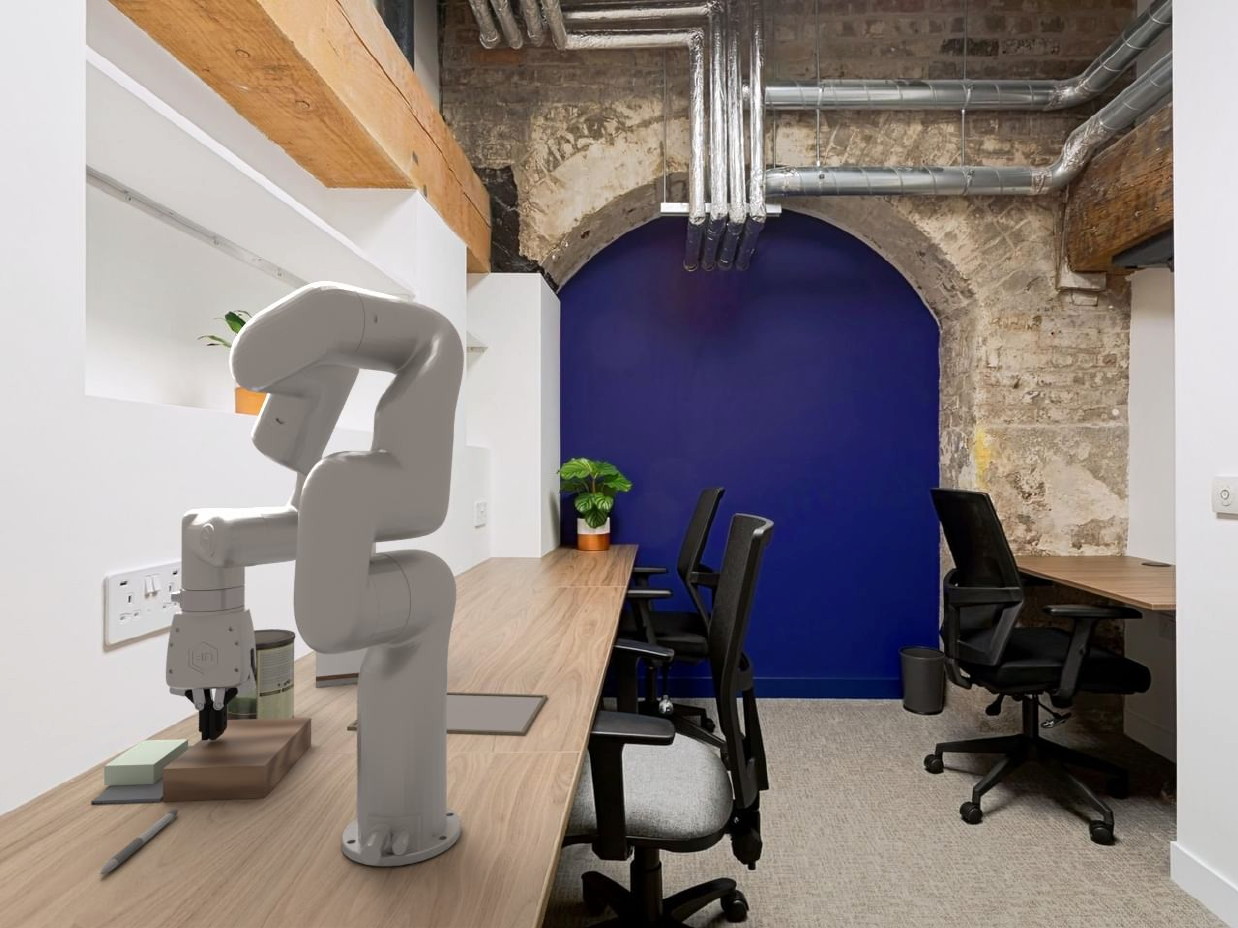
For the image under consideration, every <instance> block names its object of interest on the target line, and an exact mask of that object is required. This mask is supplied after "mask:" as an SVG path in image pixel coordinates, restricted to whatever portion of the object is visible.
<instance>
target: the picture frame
mask: <svg viewBox="0 0 1238 928" xmlns="http://www.w3.org/2000/svg"><path fill="white" fill-rule="evenodd" d="M547 699H548V694H538V693H537V694H533V693H531V694H530V693H501V692H500V693H495V692H463V691H462V692H460V691H447V735H448V734H449V735H450V734H452V735H479V736H480V735H483V736H509V737H511V736H512V737H513V736H516V737H518V736H519V737H520V736H521V737H525V735H526V734H527V732H528V730H529V729H530V727H531V725H532V724H533V722H534V721H535V719H536V717H537V716H538V714H539V712H540V711H541V710H542V707H543V706H544V704H545V703H546V701H547ZM346 731H355V732H357V719H355V720H354V721H353V722H351V723H350V724H349V725H347V726H346Z"/></svg>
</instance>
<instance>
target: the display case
mask: <svg viewBox="0 0 1238 928" xmlns="http://www.w3.org/2000/svg"><path fill="white" fill-rule="evenodd" d="M372 553H377V543H373V545H372V550H371V554H372ZM367 649H368V648H364V649H360V650H355V651H351V652H347V653H342V654H323V653H319V652H316V651H315V688H316V687H318V688H324V687H323V686H328V687H335V686H334V685H338V686H344V685H343V684H348V685H354V684H353V683H358V676H359V672H360V668H361V664H362V661H363V658H364V656H365V653H366V651H367Z"/></svg>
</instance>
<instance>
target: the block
mask: <svg viewBox="0 0 1238 928" xmlns="http://www.w3.org/2000/svg"><path fill="white" fill-rule="evenodd" d="M188 746H189V739H186V738H185V739H149V740H148V739H146V740H145V739H144V740H142V741H140V742H138V743H137V744H135V745H133V747H131V748H129V749H128V750H126V751H125V752H123V753H122V754H119V756H117V757H116V758H114V759H113V760H111V761H109V762H108V763H107V764H105V765H104V767H103V768H104V772H103V773H104V774H103V775H104V778H103V779H104V780H103V785H104V786H113V785H135V784H154V783H155V782H157V781H158V780H159V779H161V778H162V777H163V768H165V767H166V766H167V765H169V764H170V763H171V762H173V761H174V760H175V759H176V758H178V757H179V756H180V755H182V754H183V753H184V752H186V751H187V750H188Z"/></svg>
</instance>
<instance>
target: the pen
mask: <svg viewBox="0 0 1238 928" xmlns="http://www.w3.org/2000/svg"><path fill="white" fill-rule="evenodd" d="M178 812H179V809H177V808H176V809H175V808H174V809H171V810H169V811H168V812H167V813H165V815H163V816H162V817H160V818H159V819H158V820H157V821H156V822H154V824H152V825H151V826H150V827H149V828H147V829H146V830H144V832H143V833H141V834H140V835H138V836H137V837H135V839H133V840H131V842H129V843H128V844H127V846H125V847H123V848H122V850H120V851H119V852H118V853H117V854H115V855H114V856H112V858H111V859H109V860H108V861H107V863H105V865H104V866H103V867H102V868H101V870H100V872H99V873H100V875H105V874H109V873H110V872H112V871H113V870H114V869H115V868H117V867H119V865H122V863H124V862H125V860H127V859H128V858H129V857H130V856H131V855H133V854H134V853H135V852H136V851H137V850H139V848H141V847H142V846H143V845H144V844H145V843H146V842H147V841H148V840H150V839H152V838H153V837H155V836H154V835H155V834H156V833H158V832H159V831H160V830H162V829H163V827H165V826H166V825H167V824H170V825H171V824H172V823H173V822H174V820H175V817H176V816H177V815H178Z"/></svg>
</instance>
